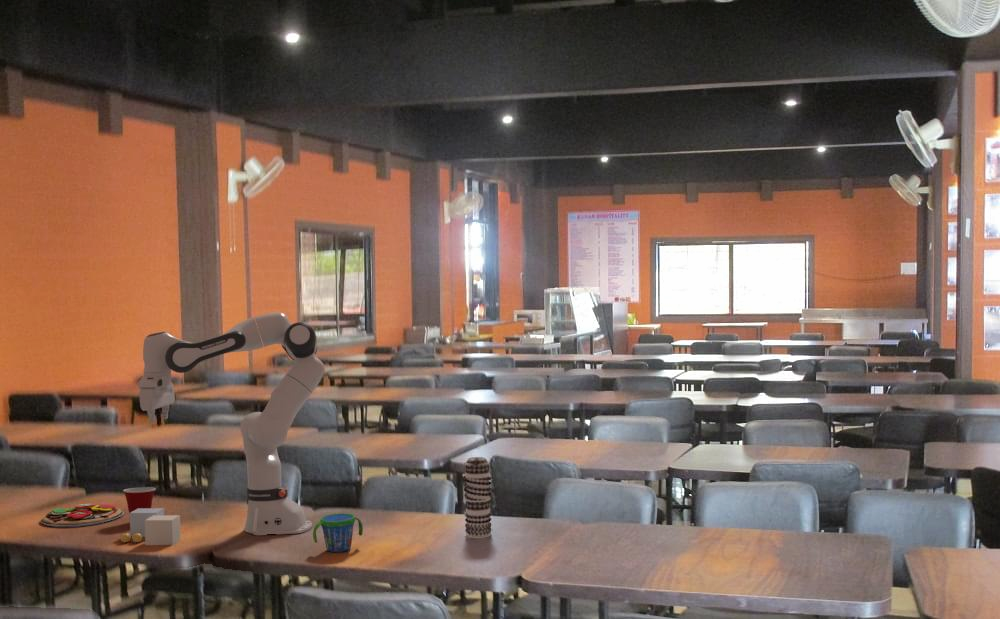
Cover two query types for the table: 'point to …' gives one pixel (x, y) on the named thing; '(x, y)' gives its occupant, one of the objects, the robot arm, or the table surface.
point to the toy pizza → (82, 515)
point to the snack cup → (337, 531)
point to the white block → (142, 519)
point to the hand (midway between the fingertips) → (158, 420)
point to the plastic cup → (139, 497)
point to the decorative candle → (477, 498)
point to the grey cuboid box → (162, 530)
